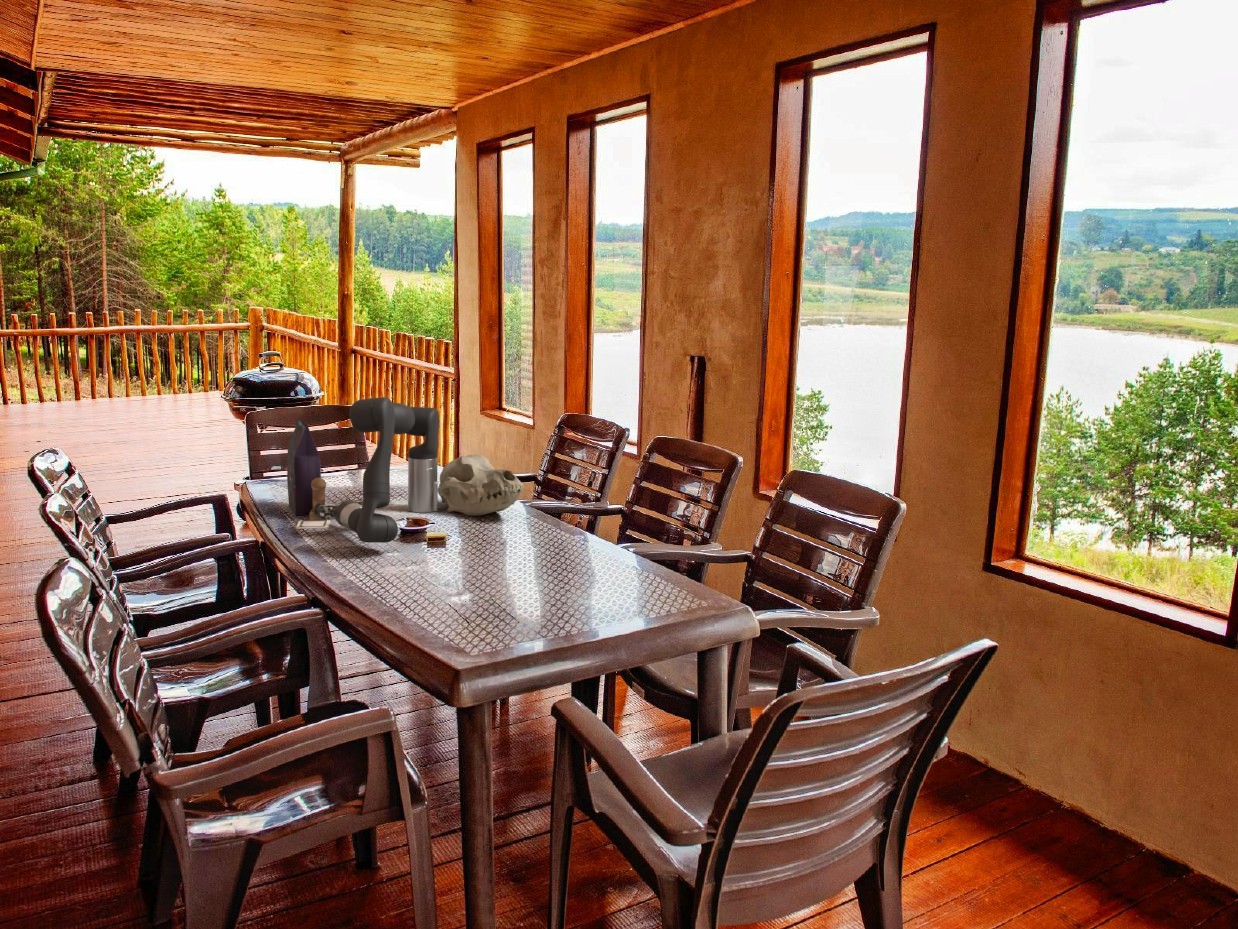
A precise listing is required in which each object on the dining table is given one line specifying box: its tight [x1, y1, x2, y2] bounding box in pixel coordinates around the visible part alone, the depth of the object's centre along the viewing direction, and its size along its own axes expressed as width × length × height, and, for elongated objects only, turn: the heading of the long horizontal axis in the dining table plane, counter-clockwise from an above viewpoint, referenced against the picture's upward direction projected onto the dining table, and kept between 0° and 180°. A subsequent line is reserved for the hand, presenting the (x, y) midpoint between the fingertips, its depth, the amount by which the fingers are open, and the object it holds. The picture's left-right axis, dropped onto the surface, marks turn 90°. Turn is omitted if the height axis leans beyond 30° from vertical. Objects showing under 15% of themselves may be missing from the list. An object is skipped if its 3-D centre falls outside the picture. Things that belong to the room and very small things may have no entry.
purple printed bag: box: [286, 419, 322, 518], centre depth 292 cm, size 8×16×28 cm, turn 27°
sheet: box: [295, 519, 331, 530], centre depth 278 cm, size 9×8×1 cm
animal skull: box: [438, 453, 524, 517], centre depth 301 cm, size 22×35×22 cm, turn 51°
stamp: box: [309, 477, 329, 521], centre depth 284 cm, size 5×5×13 cm
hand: (332, 505), depth 275 cm, fingers open, 8 cm apart
